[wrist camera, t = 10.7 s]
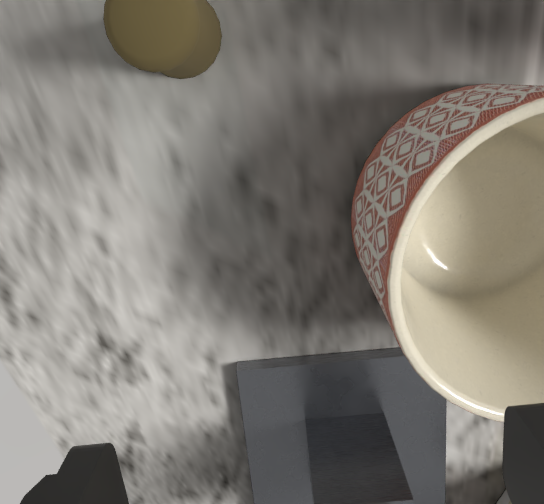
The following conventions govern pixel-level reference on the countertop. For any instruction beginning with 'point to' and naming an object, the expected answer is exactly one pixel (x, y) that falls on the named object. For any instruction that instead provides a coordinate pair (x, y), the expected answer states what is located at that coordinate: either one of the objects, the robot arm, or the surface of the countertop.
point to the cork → (164, 35)
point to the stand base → (342, 430)
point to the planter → (461, 242)
